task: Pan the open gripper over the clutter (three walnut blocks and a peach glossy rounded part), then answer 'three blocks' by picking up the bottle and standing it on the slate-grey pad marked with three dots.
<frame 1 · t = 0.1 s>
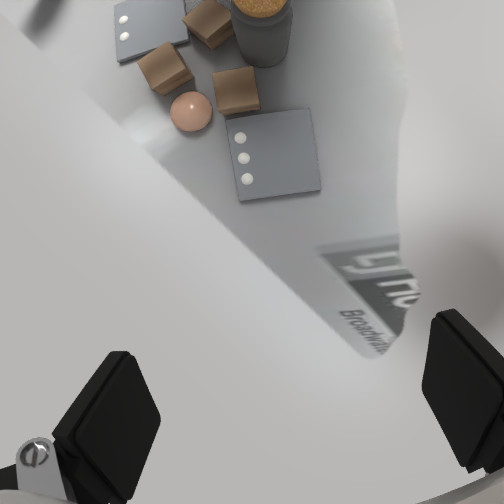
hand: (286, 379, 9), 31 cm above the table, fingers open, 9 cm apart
peach glossy rounded part: (193, 112, 36), on the table
block c: (214, 30, 32), on the table
block b: (239, 95, 35), on the table
bottle: (263, 48, 33), on the table
pad two: (150, 22, 32), on the table
block a: (171, 73, 34), on the table
pad three: (274, 154, 37), on the table
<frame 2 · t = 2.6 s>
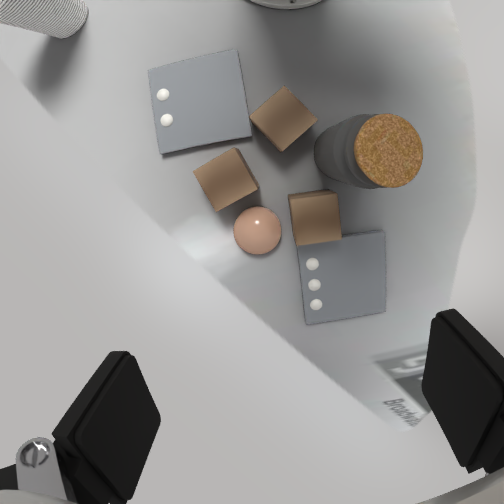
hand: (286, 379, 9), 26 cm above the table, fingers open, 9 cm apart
peach glossy rounded part: (257, 228, 35), on the table
block c: (281, 123, 31), on the table
block b: (310, 212, 34), on the table
bottle: (339, 153, 32), on the table
cup: (71, 20, 27), on the table
pad two: (199, 101, 31), on the table
block a: (230, 177, 33), on the table
pad three: (343, 277, 35), on the table
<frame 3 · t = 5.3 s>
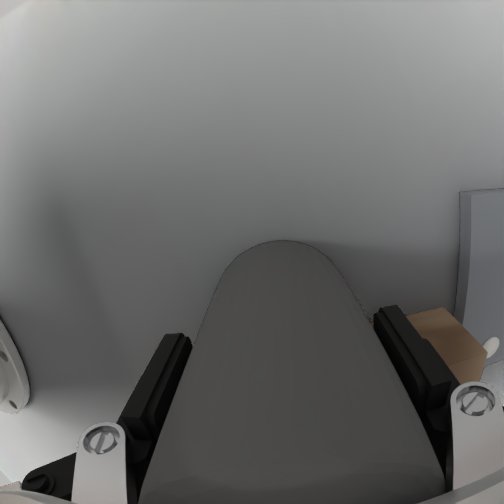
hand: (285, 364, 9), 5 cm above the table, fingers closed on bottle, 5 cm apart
block b: (402, 351, 14), on the table
bottle: (281, 300, 14), on the table, touching gripper
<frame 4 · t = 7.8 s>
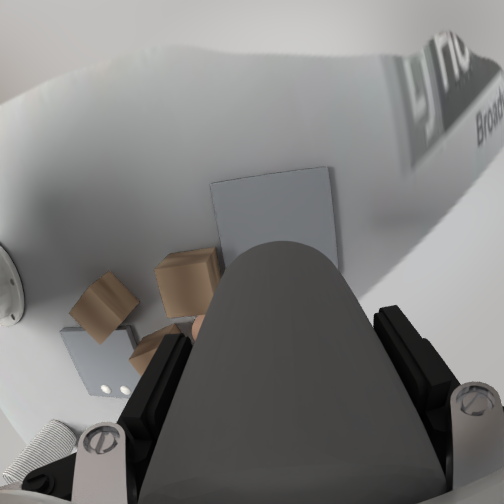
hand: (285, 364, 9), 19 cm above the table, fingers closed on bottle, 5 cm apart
peach glossy rounded part: (219, 326, 31), on the table
block c: (113, 298, 31), on the table
block b: (197, 272, 30), on the table
bottle: (281, 301, 14), point 15 cm above the table, touching gripper
cup: (63, 430, 40), on the table
pad two: (108, 362, 34), on the table
block a: (170, 346, 32), on the table
pad three: (277, 230, 28), on the table
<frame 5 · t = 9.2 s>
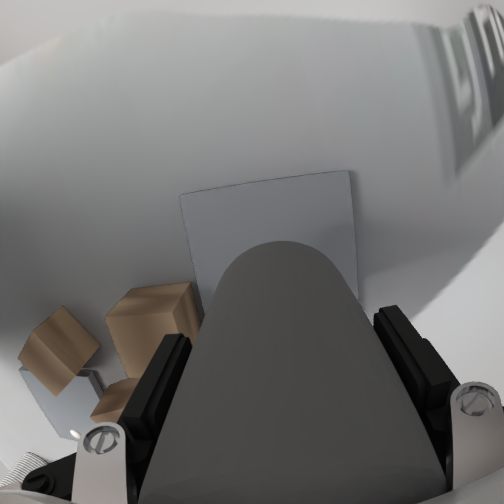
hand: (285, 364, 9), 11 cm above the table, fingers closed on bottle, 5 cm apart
block c: (71, 338, 23), on the table
block b: (168, 314, 22), on the table
bottle: (281, 301, 14), point 6 cm above the table, touching gripper
cup: (40, 463, 32), on the table
pad two: (74, 406, 25), on the table
block a: (142, 396, 24), on the table
pad three: (275, 259, 20), on the table
when the fingers open (7 cm above the table, at t = 10.4 s): bottle drops 1 cm, resting on pad three.
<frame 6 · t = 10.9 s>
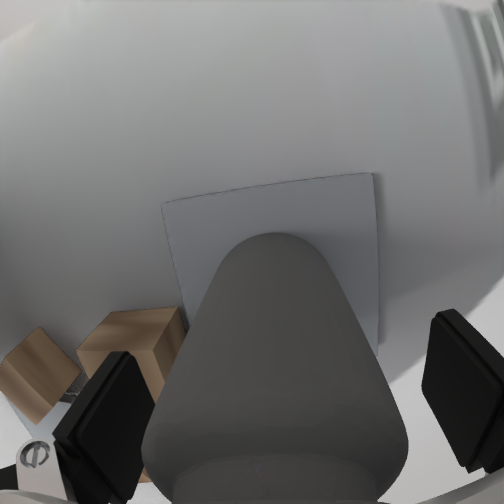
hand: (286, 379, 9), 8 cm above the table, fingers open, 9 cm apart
block c: (50, 361, 19), on the table
block b: (153, 341, 18), on the table
bottle: (274, 288, 15), point 1 cm above the table, touching pad three
pad two: (60, 429, 22), on the table
pad three: (280, 282, 16), on the table
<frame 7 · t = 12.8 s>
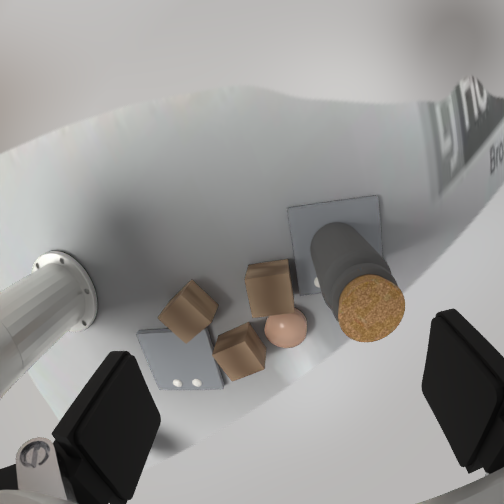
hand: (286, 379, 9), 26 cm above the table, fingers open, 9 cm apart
peach glossy rounded part: (286, 324, 38), on the table, tilted 7°
block c: (193, 302, 38), on the table
block b: (271, 279, 36), on the table
bottle: (335, 247, 34), point 1 cm above the table, touching pad three
pad two: (181, 358, 41), on the table
block a: (242, 341, 39), on the table
pad three: (337, 245, 34), on the table
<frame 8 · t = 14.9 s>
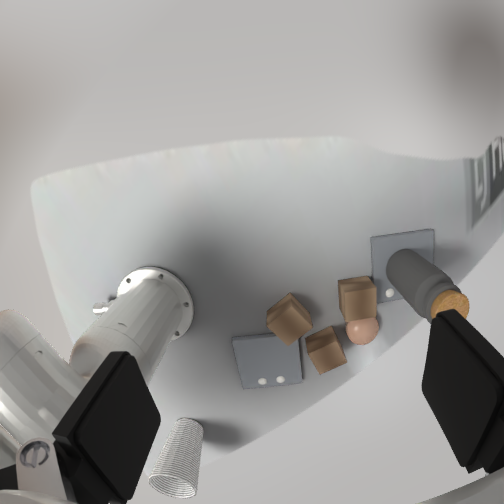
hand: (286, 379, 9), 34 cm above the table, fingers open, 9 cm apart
peach glossy rounded part: (360, 326, 46), on the table, tilted 9°
block c: (288, 311, 46), on the table
block b: (353, 291, 45), on the table
bottle: (402, 267, 42), point 1 cm above the table, touching pad three
cup: (189, 426, 55), on the table
pad two: (268, 359, 49), on the table
block a: (323, 342, 47), on the table
pad three: (402, 265, 43), on the table
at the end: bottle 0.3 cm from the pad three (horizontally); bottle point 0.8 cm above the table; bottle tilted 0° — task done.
